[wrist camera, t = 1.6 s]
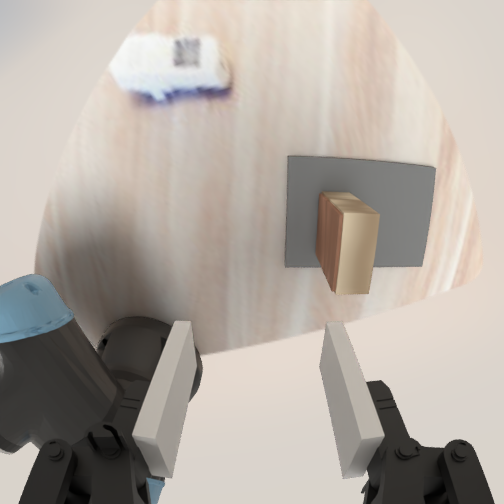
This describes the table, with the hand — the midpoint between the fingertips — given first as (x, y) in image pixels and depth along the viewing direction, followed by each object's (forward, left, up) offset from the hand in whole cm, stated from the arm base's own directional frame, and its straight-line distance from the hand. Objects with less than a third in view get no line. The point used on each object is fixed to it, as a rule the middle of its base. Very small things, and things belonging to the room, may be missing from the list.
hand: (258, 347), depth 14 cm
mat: (+11, +1, -21) cm, 24 cm away
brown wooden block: (+8, 0, -20) cm, 22 cm away
